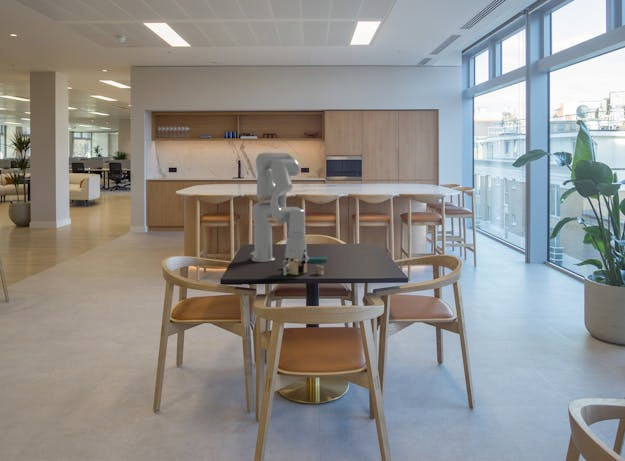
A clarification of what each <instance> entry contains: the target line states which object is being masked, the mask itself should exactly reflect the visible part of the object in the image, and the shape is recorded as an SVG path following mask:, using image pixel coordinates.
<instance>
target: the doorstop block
mask: <svg viewBox="0 0 625 461" xmlns="http://www.w3.org/2000/svg"><path fill="white" fill-rule="evenodd" d="M301 262H302V260H301ZM298 266H299V260H297V259H295V260H291V261H288V268H289V272H288V274H289V275H295V276H298V275H302V274H305V273H307V272H308V263H307V262H306V263H305V265H304V273H301V274H299V273H298Z"/></svg>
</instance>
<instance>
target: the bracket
mask: <svg viewBox="0 0 625 461" xmlns="http://www.w3.org/2000/svg"><path fill="white" fill-rule="evenodd" d="M308 257H309V260H308V261H307V262H309V263H308V264H311V263H312V264H326V263H328V257H325V256H308ZM294 260H295V259H294Z"/></svg>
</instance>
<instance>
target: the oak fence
mask: <svg viewBox="0 0 625 461" xmlns="http://www.w3.org/2000/svg"><path fill="white" fill-rule="evenodd" d="M287 264H288V261H287V259H285V260H282V269H283V270H284V267H285V266H286V265H287ZM324 269H325V266H323V265H320V264H315V265H314V275H317V276H318V275H319V276H323V275H324V271H325V270H324Z"/></svg>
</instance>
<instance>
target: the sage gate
mask: <svg viewBox="0 0 625 461" xmlns="http://www.w3.org/2000/svg"><path fill="white" fill-rule="evenodd" d="M288 274H289V268H288V264H287V265H286V266H285V267H284V269H283V276H287V275H288Z"/></svg>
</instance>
